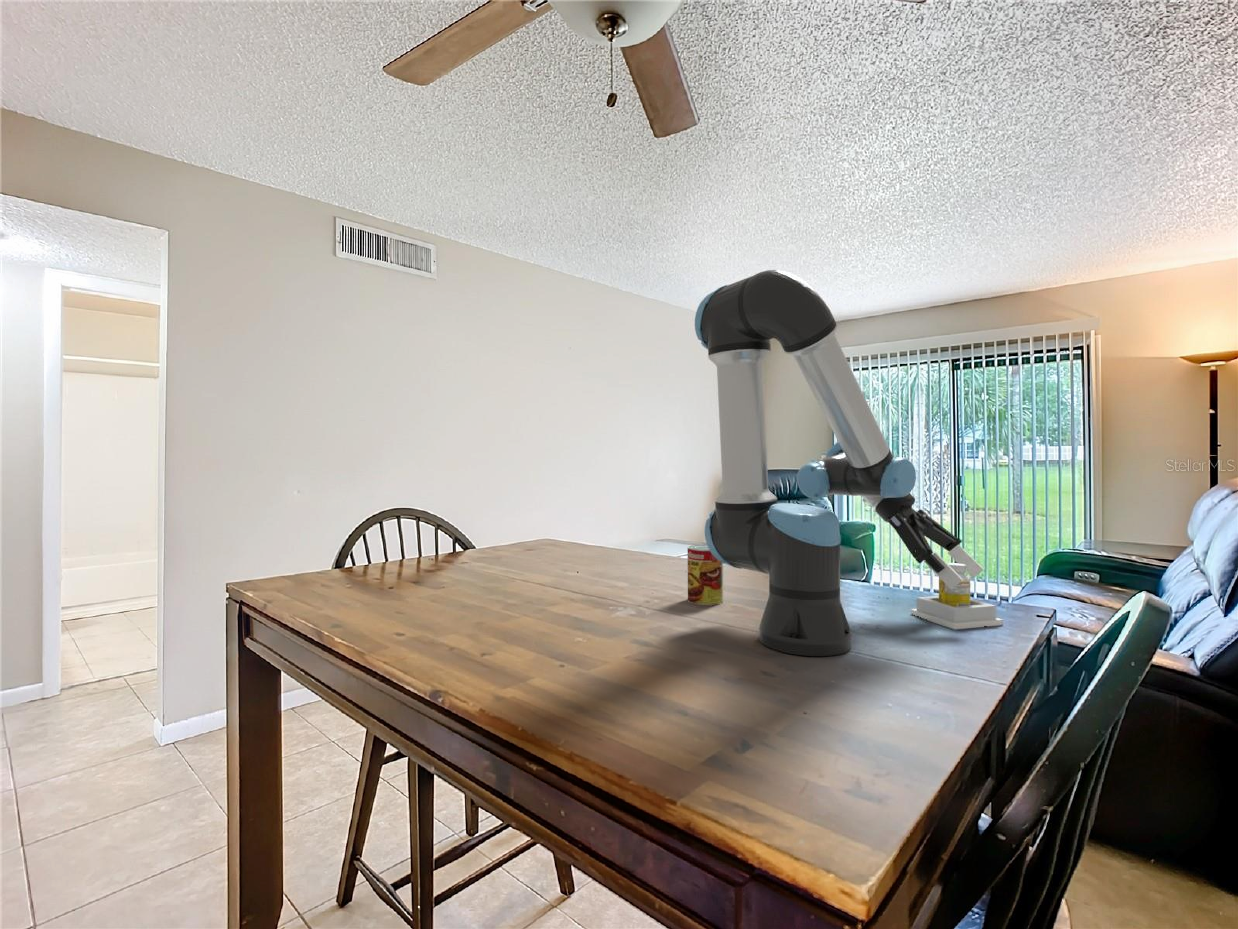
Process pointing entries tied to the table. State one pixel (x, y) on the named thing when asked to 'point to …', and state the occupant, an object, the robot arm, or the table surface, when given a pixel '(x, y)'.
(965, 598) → the supplement bottle
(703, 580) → the canned food
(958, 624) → the socket collar
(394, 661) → the table surface
